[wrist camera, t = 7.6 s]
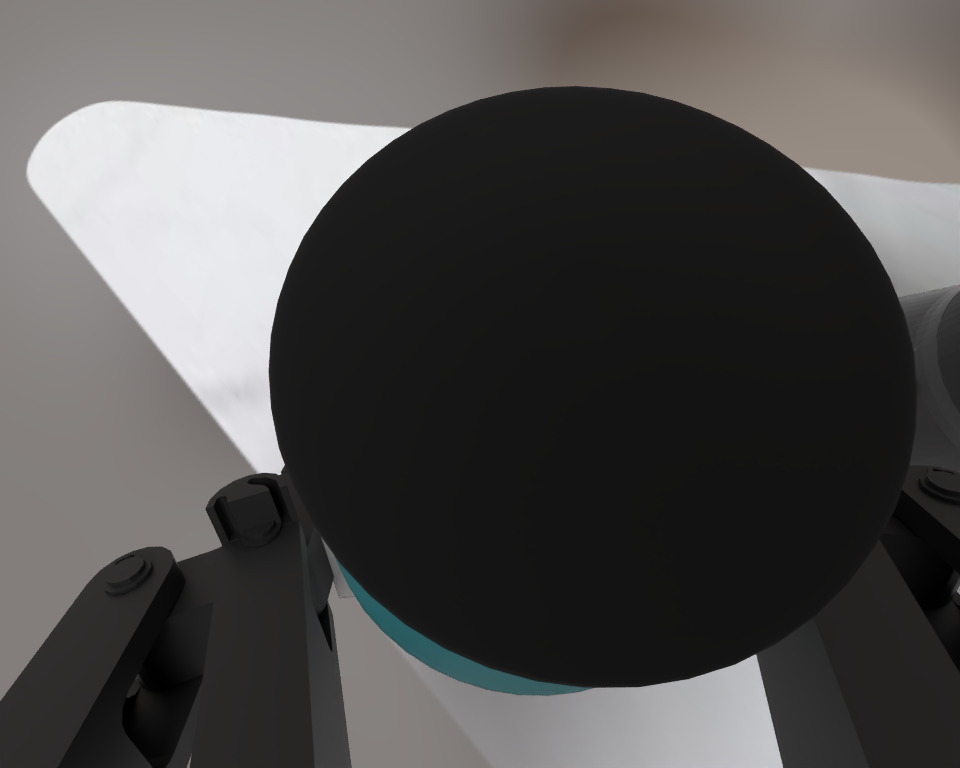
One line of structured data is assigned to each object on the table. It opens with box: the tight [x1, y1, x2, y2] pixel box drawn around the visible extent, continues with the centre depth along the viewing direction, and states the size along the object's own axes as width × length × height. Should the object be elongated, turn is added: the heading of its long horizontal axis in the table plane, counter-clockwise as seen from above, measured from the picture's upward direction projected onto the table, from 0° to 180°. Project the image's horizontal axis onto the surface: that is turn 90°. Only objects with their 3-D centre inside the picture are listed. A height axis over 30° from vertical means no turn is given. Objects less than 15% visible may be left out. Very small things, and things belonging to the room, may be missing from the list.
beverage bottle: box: [269, 86, 917, 696], centre depth 12 cm, size 6×7×20 cm
